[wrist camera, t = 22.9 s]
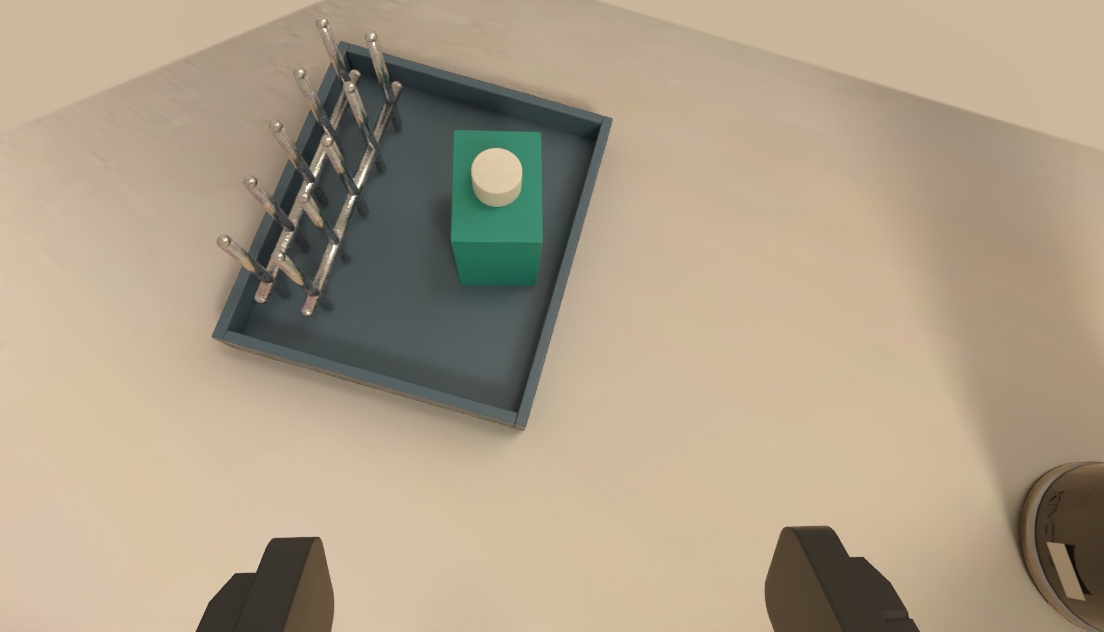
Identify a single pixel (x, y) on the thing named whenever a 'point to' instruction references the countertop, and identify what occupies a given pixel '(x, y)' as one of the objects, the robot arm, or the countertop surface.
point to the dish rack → (312, 174)
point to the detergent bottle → (496, 207)
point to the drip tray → (422, 250)
